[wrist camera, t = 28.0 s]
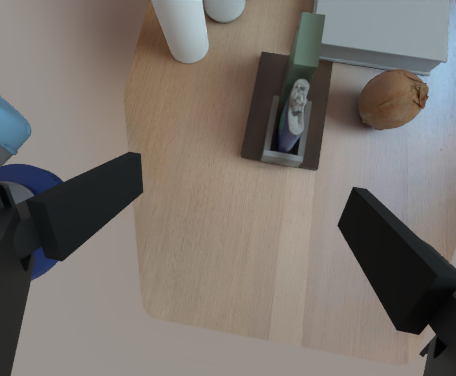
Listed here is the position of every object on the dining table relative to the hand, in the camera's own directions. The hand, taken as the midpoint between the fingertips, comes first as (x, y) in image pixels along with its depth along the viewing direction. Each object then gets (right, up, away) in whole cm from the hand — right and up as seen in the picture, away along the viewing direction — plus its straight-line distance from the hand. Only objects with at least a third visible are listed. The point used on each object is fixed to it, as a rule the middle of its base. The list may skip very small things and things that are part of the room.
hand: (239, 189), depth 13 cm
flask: (+10, +10, +26) cm, 30 cm away
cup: (-9, +30, +32) cm, 44 cm away
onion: (+27, +14, +27) cm, 41 cm away
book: (+28, +33, +31) cm, 53 cm away
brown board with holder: (+11, +15, +28) cm, 34 cm away
